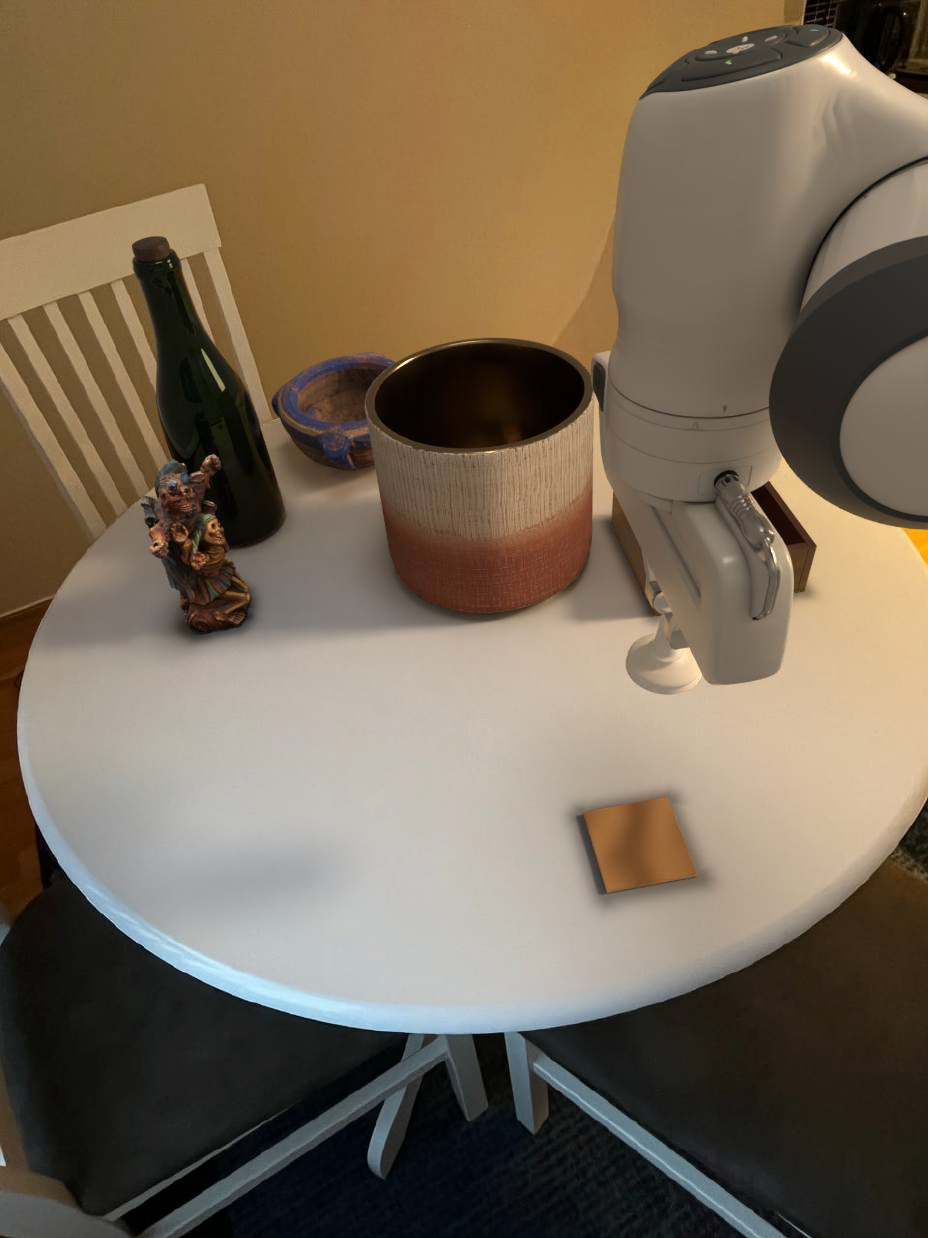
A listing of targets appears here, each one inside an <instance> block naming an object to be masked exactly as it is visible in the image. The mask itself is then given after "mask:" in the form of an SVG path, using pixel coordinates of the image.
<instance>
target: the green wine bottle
mask: <svg viewBox="0 0 928 1238" xmlns="http://www.w3.org/2000/svg"><path fill="white" fill-rule="evenodd" d="M131 251H132V253H133V255H134V256H133V257H132V260H131V263H132V271H133V274H134V276H135V278H136V279H137V281H138V284H139V287H140V289H141V293H142V295H143V299H144V302H145V304H146V308H147V311H148V315H149V318H150V321H151V326H152V330H153V335H154V340H155V341H154V342H155V350H156V373H155V403H156V410H157V417H158V420H159V424H160V426H161V429H162V433H163V436H164V439H165V442H166V445H167V448H168V451H169V454H170V456H171V460H172V459H174V460H175V461H177V462H178V463H181V464H182V463H184V465H186V469H187V474H188V477H189V476H190V475H191V474H192V473H195V472H198V471H201V469H200V468H201V466H202V463H203V462H204V461H205V459H206V457H208V456H210V455H213V454H214V455H215V456H217V457H218V458H219V460H220V461H221V469H220V471H219V470H217V472H216V473H215V474H214V475H213V476H211V477H209V485H210V488H209V489H208V488H207V489H206V490H205V492H204V498H203V501H204V500H205V501H209V502H213V503H214V504H216V506H217V507H216V508H217V509H216V513H215V515H216V518H217V519H218V523H220V527H223V529H224V537H225V539H226V542H227V544H228V547H242V546H245V545H250V544H253V543H255V542H258V541H261V540H263V539H265V538H267V537H268V536H270V535H271V534H273V533H274V532H275V531H276V530H277V529H278V528H279V526H280V525H281V524H282V523H283V520H284V517H285V514H286V508H285V504H284V498H283V495H282V491H281V489H280V485H279V482H278V479H277V475H276V472H275V469H274V465H273V462H272V459H271V456H270V452H269V449H268V446H267V443H266V441H265V436H264V433H263V430H262V427H261V424H260V421H259V418H258V414H257V412H256V410H255V407H254V404H253V402H252V398H251V396H250V393H249V391H248V389H247V387H246V386H245V384H244V382H243V380H242V378H241V377H240V375H239V373H238V372H237V371H236V369H234V367H233V366H232V365H231V363H230V362H229V361H228V359H227V358H226V357H225V355H224V354H223V353H222V352H221V350H220V349H219V347H218V346H217V345H216V343H215V342H214V341H213V339H212V337H210V335H209V333H208V331H207V330H206V328H205V326H204V324H203V322H202V320H201V317H200V316H199V314H198V311H197V309H196V306H195V304H194V300H193V297H192V295H191V293H190V289H189V287H188V283H187V281H186V277H185V275H184V271H183V265H182V261H181V258H180V256H179V255H178V254H177V251H176V250H175V249H173V248H171V246H170V243H169V241H168V239H167V237H165V236H161V235H153V236H147V237H143V238H140V239H138V240H136V241H135V242H133V243H132V244H131ZM203 501H202V502H203Z"/></svg>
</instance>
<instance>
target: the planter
mask: <svg viewBox="0 0 928 1238" xmlns="http://www.w3.org/2000/svg"><path fill="white" fill-rule="evenodd" d="M396 361H397V362H396V363H394V364H393V365H391V366H390V367H388V368H387V369H386V370H384V371H383V372H382V373H381V374H380V375H379V376H378V377H377V378H376V379H375V380H374V382H373V383H372V384H371V386H370V388H369V390H368V392H367V395H366V398H365V413H366V419H367V424H368V430H369V435H370V441H371V446H372V452H373V458H374V463H375V466H374V469H375V475H376V480H377V487H378V492H379V498H380V499H379V500H380V505H381V510H382V516H383V523H384V529H385V534H386V540H387V546H388V551H389V556H390V559H391V562H392V565H393V568H394V571H395V572H396V575H397V576H398V578H399V579H400V580H401V582H402V583H403V585H404V586H405V587H407V588H408V590H410V591H411V592H412V593H413V594H415V595H417V597H420V598H421V599H423V600H425V601H427V602H429V603H431V604H434V605H436V606H439V607H441V608H445V609H450V610H453V611H458V612H464V613H474V614H475V613H477V614H478V613H479V614H481V613H482V614H484V613H485V614H490V613H504V612H509V611H510V612H511V611H514V610H519V609H523V608H526V607H527V608H528V607H530V606H533V605H536V604H538V603H540V602H541V603H542V602H543V601H545V600H547V599H549V598H552V597H553V596H555V595H557V594H558V593H560V592H562V591H563V590H564V589H566V588H567V587H568V586H569V585H570V584H571V583H572V582H573V581H575V579H577V577H578V576H579V575H580V574H581V572H582V571H583V569H584V567H585V566H586V564H587V562H588V560H589V557H590V553H591V547H592V540H593V515H594V514H593V513H594V511H593V509H594V507H593V504H594V501H593V500H594V482H593V481H594V429H595V427H594V424H595V423H594V422H595V393H594V390H593V387H592V384H591V372H590V371H589V370H588V369H587V367H586V366H585V365H584V364H583V363H582V362H581V361H580V360H579V359H577V358H576V357H575V356H573V355H571V354H570V353H568V352H566V351H564V350H562V349H559V348H558V347H555V346H553V345H548V344H546V343H543V342H537V341H533V340H527V339H521V338H512V337H478V338H477V337H476V338H475V337H474V338H466V339H460V340H455V341H454V340H453V341H449V342H444V343H440V344H436V345H433V346H429V347H427V348H424V349H421V350H418V351H415V352H412V353H411V354H409V355H407V356H405V357H403V358H401V359H399V360H396Z"/></svg>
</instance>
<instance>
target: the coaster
mask: <svg viewBox="0 0 928 1238" xmlns="http://www.w3.org/2000/svg"><path fill="white" fill-rule="evenodd" d="M582 815H583V819H584V822H585V825H586V829H587V832H588V835H589V839H590V842H591V845H592V849H593V853H594V856H595V859H596V862H597V866H598V868H599V872H600V875H601V879H602V882H603V886H604V889H605V893H606V894H610V893H614V892H615V893H617V892H621V891H626V890H631V889H637V888H642V887H647V886H652V885H658V884H663V883H670V882H675V881H680V880H687V879H691V878H697V876H698V873H697V870H696V869H695V866H694V863H693V860H692V858H691V855H690V852H689V850H688V846H687V845H686V842H685V840H684V839H685V838H684V836H683V834H682V832H681V829H680V827H679V824H678V822H677V819H676V817H675V814H674V811H673V808H672V807H671V803H670V801H669V798H668V797H667V796H665V797H659V798H654V799H648V800H641V801H638V802H637V801H636V802H630V803H627V804H621V805H615V806H608V807H604V808H599V809H592V810H588V811H587V810H586V811H583V812H582Z"/></svg>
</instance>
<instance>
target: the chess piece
mask: <svg viewBox="0 0 928 1238" xmlns="http://www.w3.org/2000/svg"><path fill="white" fill-rule="evenodd" d="M654 607H655V609H656V610H657V611H658V612H659V613H660V614H662V615H660V620H659V623H658V627H657V629H656V632H653V633H649V634H646V635H644V636H642V637H639V638H638V639H636V640H634V642H633V643H632V644H631V645H630V647H629V649H628V651H627V655H626V657H625V669H626V673H627V675H628V676H629V678H630V679H631V681H633V683H634V684H636V685H637V687H640V688H642V689H643V690H645V691H647V692H650V693H654V694H657V695H658V694H659V695H665V696H666V695H669V696H670V695H679V694H682V693H685V692H687V691H689V690H691V689H693V688H695V686H696V685H697V684H699V682H700V680H701V679H702V677H703V675H702V673H701V671H700V669H699V667H698V665H697V663H696V661H695V659H694V656H693V654H692V652H691V650H690V648H683V649H677V650H674V649H671V647H670V645H669V643H668V641H667V639H666V636H665V634H664V632H663V626H664V613H669V612H672V611H671V609H670V607H669V605H668V603H667V601H666V599H665V597H664V594H663V592H661V593H659V594H658V595H657V596H656V598H655V600H654Z"/></svg>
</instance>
